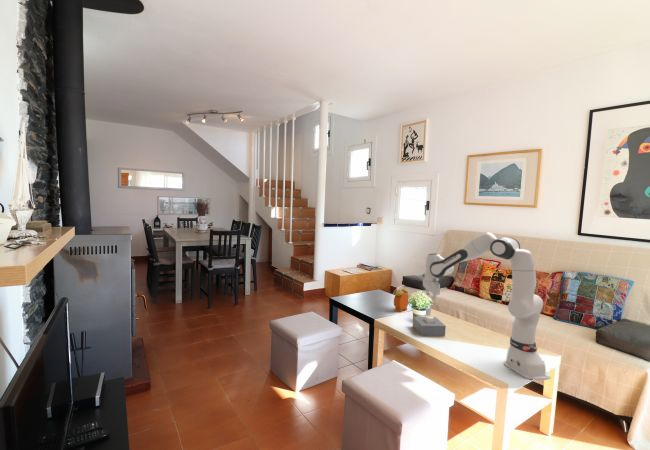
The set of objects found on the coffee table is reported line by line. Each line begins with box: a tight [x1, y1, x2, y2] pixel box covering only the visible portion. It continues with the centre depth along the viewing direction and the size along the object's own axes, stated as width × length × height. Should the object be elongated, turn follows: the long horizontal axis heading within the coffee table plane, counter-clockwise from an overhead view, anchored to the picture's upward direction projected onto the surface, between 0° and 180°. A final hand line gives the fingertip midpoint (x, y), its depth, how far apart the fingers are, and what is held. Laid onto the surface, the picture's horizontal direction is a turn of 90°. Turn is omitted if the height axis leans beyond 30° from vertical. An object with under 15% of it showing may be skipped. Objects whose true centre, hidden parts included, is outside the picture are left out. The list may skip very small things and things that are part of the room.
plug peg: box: [425, 315, 434, 323], centre depth 221 cm, size 4×4×11 cm
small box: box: [425, 306, 432, 316], centre depth 240 cm, size 8×6×10 cm
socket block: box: [412, 316, 447, 337], centre depth 221 cm, size 16×16×7 cm
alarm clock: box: [393, 285, 410, 313], centre depth 261 cm, size 13×6×20 cm, turn 133°
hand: (430, 297), depth 220 cm, fingers open, 8 cm apart
